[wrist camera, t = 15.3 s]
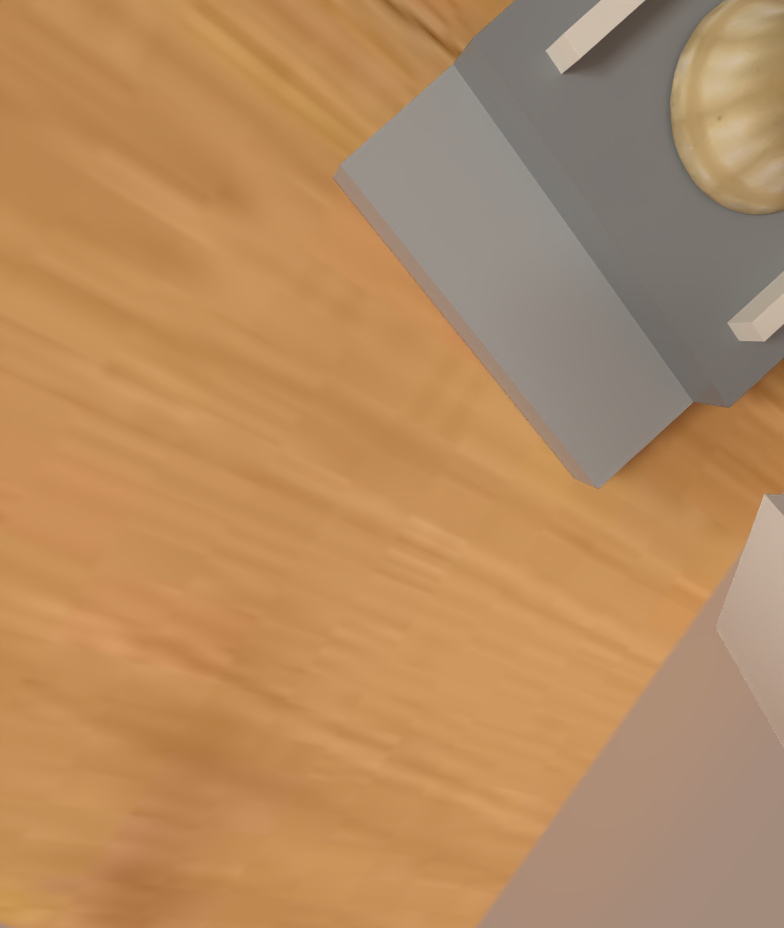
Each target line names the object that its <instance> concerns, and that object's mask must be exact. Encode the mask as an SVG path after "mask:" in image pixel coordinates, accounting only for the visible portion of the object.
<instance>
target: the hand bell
mask: <svg viewBox="0 0 784 928" xmlns="http://www.w3.org/2000/svg"><path fill="white" fill-rule="evenodd" d="M670 117H671V124H672V132H673V138H674V141H675V145H676V148H677V150H678V154H679V157H680V159H681V161H682V163H683V165H684V167H685V169H686V171H687V172H688V174H689V175H690V177H691V179H692V180H693V181H694V183H695V184H696V185H697V186H698V187H699V188H700V189H701V190H702V191H703V192H704V193H705V194H706V195H707V196H709V197H710V198H711V199H712V200H714V201H715V202H717V203H718V204H720V205H721V206H723V207H726V208H728V209H730V210H733V211H736V212H740V213H745V214H753V215H762V214H770V213H774V212H779V211H782V210H784V0H725V1H723V2H722V3H720V4H719V5H718V6H717V7H715V8H714V9H713V10H711V11H710V12H709V13H708V14H707V15H706V16H705V17H704V18H703V19H702V21H701V22H700V23H699V24H698V26H697V27H696V28H695V30H694V31H693V33H692V35H691V36H690V38H689V40H688V41H687V43H686V45H685V47H684V49H683V51H682V53H681V54H680V57H679V60H678V63H677V66H676V70H675V74H674V79H673V83H672V90H671V100H670Z"/></svg>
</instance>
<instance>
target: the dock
mask: <svg viewBox="0 0 784 928" xmlns="http://www.w3.org/2000/svg"><path fill="white" fill-rule="evenodd" d="M723 1H725V0H515V1H514V2H513V3H512V4H511V5H510V6H508V7H507V8H506V9H505V10H504V11H503V12H502V13H501V14H499V15H498V16H497V17H496V18H495V19H494V20H493V21H492V22H490V23H489V24H488V25H487V26H486V27H485V28H484V29H483V30H481V31H480V32H479V33H478V34H477V35H476V36H475V37H474V38H472V40H471V41H470V42H469V44H468V45H467V46H466V48H465V49H464V50H463V52H462V53H461V54H460V56H459V57H458V58H457V60H456V61H455V62H454V63H453V65H451V66H450V67H449V68H448V69H447V70H446V71H445V72H444V73H442V74H441V75H440V76H439V77H438V78H437V79H436V80H435V81H433V82H432V83H431V84H430V85H429V86H428V87H427V88H426V89H425V90H423V91H422V92H421V93H420V94H419V95H418V96H417V97H416V98H414V99H413V100H412V101H411V102H410V103H409V104H408V105H407V106H405V107H404V108H403V109H402V110H401V111H400V112H399V113H398V114H396V115H395V116H394V117H393V118H392V119H391V120H390V121H389V122H387V123H386V124H385V125H384V126H383V127H382V128H381V129H380V130H378V131H377V132H376V133H375V134H374V135H373V136H372V137H371V138H369V139H368V140H367V141H366V142H365V143H364V144H363V145H362V146H360V147H359V148H358V149H357V150H356V151H355V152H354V153H353V154H352V155H350V156H349V157H348V158H347V159H346V160H345V161H344V162H343V163H341V164H340V166H339V168H338V170H337V172H336V173H335V175H334V177H333V179H334V180H335V181H336V182H337V184H338V185H339V186H340V187H341V189H342V190H343V191H344V192H345V194H346V195H347V196H348V197H349V198H350V200H351V201H352V202H353V203H354V205H355V206H356V207H357V208H358V210H359V211H360V212H361V213H362V215H363V216H364V217H365V218H366V220H367V221H368V222H369V223H370V225H371V226H372V227H373V228H374V230H375V231H376V232H377V233H378V235H379V236H380V237H381V238H382V240H383V241H384V242H385V243H386V245H387V246H388V247H389V248H390V250H391V251H392V252H393V253H394V254H395V256H396V257H397V258H398V259H399V261H400V262H401V263H402V264H403V266H404V267H405V268H406V269H407V271H408V272H409V273H410V274H411V276H412V277H413V278H414V279H415V281H416V282H417V283H418V284H419V286H420V287H421V288H422V289H423V291H424V292H425V293H426V294H427V296H428V297H429V298H430V299H431V301H432V302H433V303H434V304H435V306H436V307H437V308H438V309H439V310H440V312H441V313H442V314H443V315H444V317H445V318H446V319H447V320H448V322H449V323H450V324H451V325H452V327H453V328H454V329H455V330H456V332H457V333H458V334H459V335H460V337H461V338H462V339H463V340H464V342H465V343H466V344H467V345H468V347H469V348H470V349H471V350H472V352H473V353H474V354H475V355H476V357H477V358H478V359H479V360H480V361H481V363H482V364H483V365H484V366H485V368H486V369H487V370H488V371H489V373H490V374H491V375H492V376H493V378H494V379H495V380H496V381H497V383H498V384H499V385H500V386H501V388H502V389H503V390H504V391H505V393H506V394H507V395H508V396H509V398H510V399H511V400H512V401H513V403H514V404H515V405H516V406H517V408H518V409H519V410H520V411H521V413H522V414H523V415H524V416H525V417H526V419H527V420H528V421H529V422H530V424H531V425H532V426H533V427H534V429H535V430H536V431H537V432H538V434H539V435H540V436H541V437H542V439H543V440H544V441H545V442H546V444H547V445H548V446H549V447H550V449H551V450H552V451H553V452H554V454H555V455H556V456H557V457H558V459H559V460H560V461H561V462H562V464H563V465H564V466H565V467H566V469H567V470H568V471H569V472H570V473H571V475H572V476H573V477H574V478H575V479H577V480H579V481H582V482H584V483H586V484H588V485H590V486H593V487H595V488H597V489H599V488H600V487H601V486H603V485H604V484H605V483H606V482H607V481H608V480H609V479H610V478H611V477H612V476H613V475H615V474H616V473H617V472H618V471H619V470H620V469H621V468H622V467H623V466H624V465H625V464H627V463H628V462H629V461H630V460H631V459H632V458H633V457H634V456H635V455H636V454H637V453H639V452H640V451H641V450H642V449H643V448H644V447H645V446H646V445H647V444H648V443H649V442H651V441H652V440H653V439H654V438H655V437H656V436H657V435H658V434H659V433H660V432H661V431H663V430H664V429H665V428H666V427H667V426H668V425H669V424H670V423H671V422H672V421H673V420H675V419H676V418H677V417H678V416H679V415H680V414H681V413H682V412H683V411H684V410H686V409H687V408H688V407H689V406H690V405H691V404H692V403H693V402H696V403H702V404H708V405H714V406H721V407H727V408H729V407H731V406H732V405H733V404H734V403H735V402H736V401H737V400H738V399H739V398H740V397H741V396H743V395H744V394H745V393H746V392H747V391H748V390H749V389H750V388H751V387H752V386H753V385H755V384H756V383H757V382H758V381H759V380H760V379H761V378H762V377H763V376H764V375H765V374H767V373H768V372H769V371H770V370H771V369H772V368H773V367H774V366H775V365H776V364H777V363H779V362H780V361H781V360H782V359H783V358H784V210H782V211H779V212H774V213H770V214H762V215H753V214H745V213H740V212H736V211H733V210H730V209H728V208H726V207H723V206H721V205H720V204H718V203H717V202H715V201H714V200H712V199H711V198H710V197H709V196H707V195H706V194H705V193H704V192H703V191H702V190H701V189H700V188H699V187H698V186H697V185H696V184H695V183H694V181H693V180H692V179H691V177H690V175H689V174H688V172H687V171H686V169H685V167H684V165H683V163H682V161H681V159H680V157H679V154H678V150H677V148H676V145H675V141H674V138H673V132H672V124H671V117H670V100H671V90H672V83H673V79H674V74H675V70H676V66H677V63H678V60H679V57H680V54H681V53H682V51H683V49H684V47H685V45H686V43H687V41H688V40H689V38H690V36H691V35H692V33H693V31H694V30H695V28H696V27H697V26H698V24H699V23H700V22H701V21H702V19H703V18H704V17H705V16H706V15H707V14H708V13H709V12H710V11H711V10H713V9H714V8H715V7H717V6H718V5H719V4H720V3H722V2H723Z"/></svg>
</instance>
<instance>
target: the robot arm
mask: <svg viewBox="0 0 784 928" xmlns="http://www.w3.org/2000/svg"><path fill="white" fill-rule="evenodd" d="M716 630H717V631H718V633H719V635H720V636H721V638H722V640H723V642H724V644H725V646H726V647H727V649H728V651H729V653H730V655H731V656H732V658H733V660H734V662H735V663H736V665H737V667H738V669H739V670H740V672H741V674H742V676H743V677H744V679H745V681H746V683H747V685H748V686H749V688H750V690H751V691H752V693H753V695H754V697H755V699H756V700H757V702H758V704H759V706H760V707H761V709H762V711H763V713H764V714H765V716H766V718H767V720H768V721H769V723H770V725H771V727H772V728H773V730H774V732H775V734H776V736H777V737H778V739H779V741H780V743H781V744H782V746H783V748H784V495H779V494H764V497H763V499H762V502H761V505H760V508H759V510H758V513H757V516H756V519H755V521H754V524H753V527H752V529H751V532H750V535H749V538H748V540H747V543H746V546H745V548H744V551H743V554H742V557H741V559H740V563H739V565H738V568H737V570H736V573H735V576H734V579H733V581H732V584H731V587H730V589H729V592H728V595H727V597H726V600H725V603H724V606H723V608H722V611H721V614H720V617H719V620H718V622H717V625H716Z"/></svg>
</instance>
